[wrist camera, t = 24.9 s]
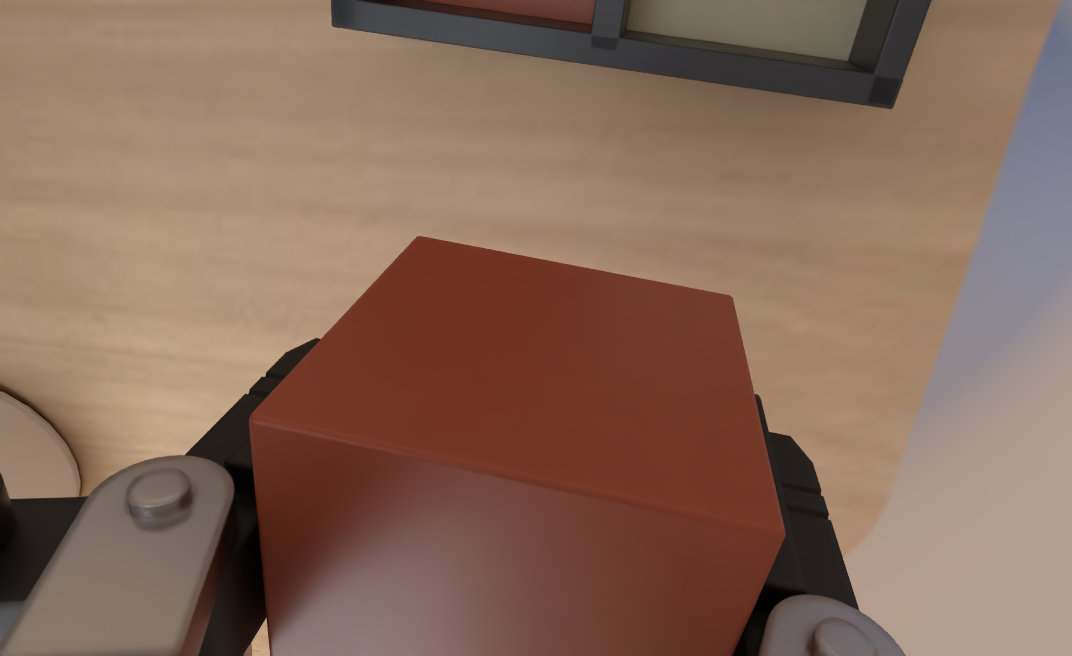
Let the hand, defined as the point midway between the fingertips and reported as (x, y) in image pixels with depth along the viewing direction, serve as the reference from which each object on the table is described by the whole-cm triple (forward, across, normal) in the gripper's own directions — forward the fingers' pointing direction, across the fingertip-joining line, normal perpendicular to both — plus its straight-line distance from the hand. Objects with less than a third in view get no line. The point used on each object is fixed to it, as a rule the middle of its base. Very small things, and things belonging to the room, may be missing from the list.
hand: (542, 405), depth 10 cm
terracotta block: (0, 0, 0) cm, 0 cm away
